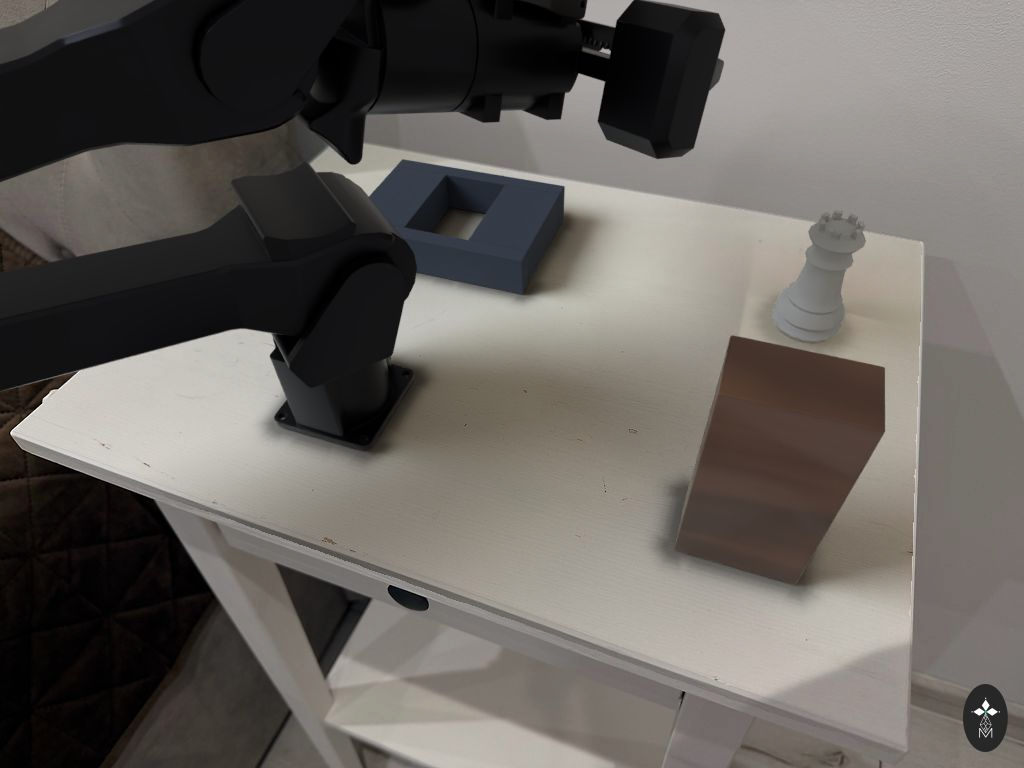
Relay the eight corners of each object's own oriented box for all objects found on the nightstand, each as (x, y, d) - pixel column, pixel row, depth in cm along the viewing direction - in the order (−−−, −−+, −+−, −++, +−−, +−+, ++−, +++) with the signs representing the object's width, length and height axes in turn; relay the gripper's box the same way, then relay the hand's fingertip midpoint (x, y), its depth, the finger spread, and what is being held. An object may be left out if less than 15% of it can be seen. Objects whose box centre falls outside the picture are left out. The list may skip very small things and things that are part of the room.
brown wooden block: (796, 586, 34) (886, 431, 25) (673, 550, 35) (718, 393, 27) (801, 527, 36) (885, 366, 27) (685, 496, 38) (730, 334, 29)
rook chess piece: (853, 333, 46) (900, 231, 40) (800, 355, 45) (840, 253, 39) (806, 294, 49) (843, 194, 43) (755, 314, 47) (786, 213, 42)
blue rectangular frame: (523, 295, 50) (522, 261, 47) (350, 258, 53) (342, 225, 51) (563, 218, 56) (564, 185, 54) (407, 190, 59) (402, 158, 57)
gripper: (626, -174, 22) (856, -99, 31) (344, -173, 33) (574, -118, 43) (566, 173, 28) (774, 151, 37) (344, 74, 39) (545, 76, 49)
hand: (657, 54), depth 41 cm, fingers open, 9 cm apart
